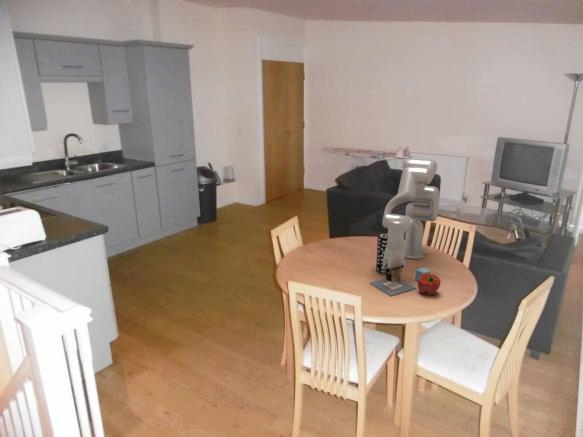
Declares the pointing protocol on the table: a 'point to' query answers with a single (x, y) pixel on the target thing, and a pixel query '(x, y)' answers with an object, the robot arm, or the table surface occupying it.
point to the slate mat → (392, 286)
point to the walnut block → (395, 274)
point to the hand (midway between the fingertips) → (393, 278)
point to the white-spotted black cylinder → (381, 252)
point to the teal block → (421, 272)
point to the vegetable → (428, 283)
